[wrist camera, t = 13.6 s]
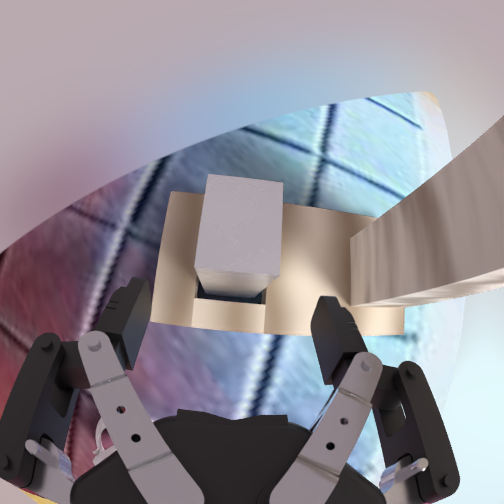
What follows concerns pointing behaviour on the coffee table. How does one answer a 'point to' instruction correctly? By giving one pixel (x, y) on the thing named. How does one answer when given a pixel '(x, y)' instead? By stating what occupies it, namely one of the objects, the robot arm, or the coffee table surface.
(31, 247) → the coffee table surface
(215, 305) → the beam with square loop
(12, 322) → the coffee table surface
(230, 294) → the smooth gray rectangular block
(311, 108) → the coffee table surface
